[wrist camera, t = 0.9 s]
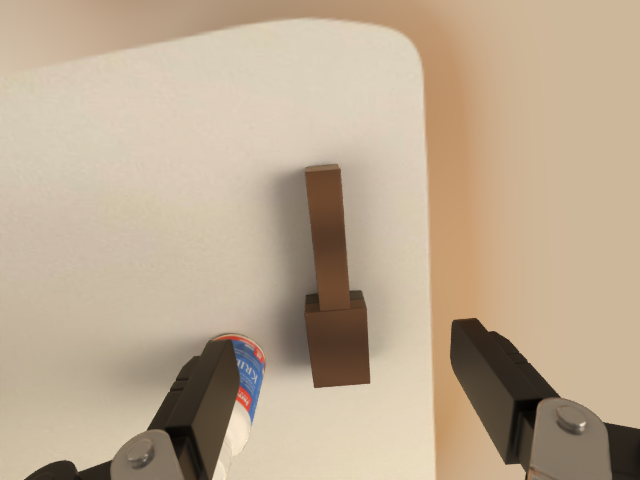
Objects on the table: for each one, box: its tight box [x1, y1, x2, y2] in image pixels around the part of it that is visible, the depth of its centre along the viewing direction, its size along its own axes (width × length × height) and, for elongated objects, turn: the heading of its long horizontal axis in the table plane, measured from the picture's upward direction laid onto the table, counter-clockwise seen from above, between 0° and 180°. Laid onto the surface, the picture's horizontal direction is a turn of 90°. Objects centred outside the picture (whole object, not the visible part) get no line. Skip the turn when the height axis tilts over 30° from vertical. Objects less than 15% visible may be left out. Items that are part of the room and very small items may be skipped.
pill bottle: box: [212, 334, 266, 480], centre depth 23 cm, size 6×5×10 cm
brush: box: [304, 164, 370, 388], centre depth 23 cm, size 17×4×3 cm, turn 5°
